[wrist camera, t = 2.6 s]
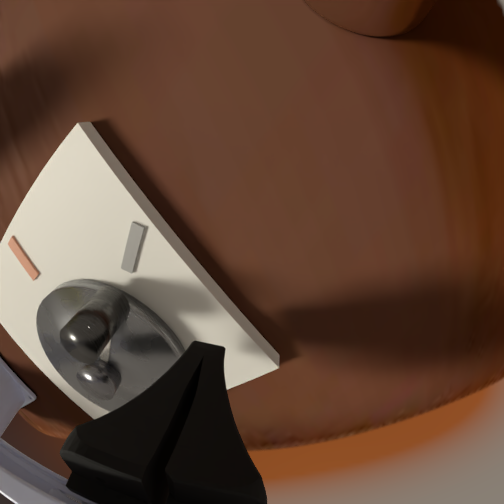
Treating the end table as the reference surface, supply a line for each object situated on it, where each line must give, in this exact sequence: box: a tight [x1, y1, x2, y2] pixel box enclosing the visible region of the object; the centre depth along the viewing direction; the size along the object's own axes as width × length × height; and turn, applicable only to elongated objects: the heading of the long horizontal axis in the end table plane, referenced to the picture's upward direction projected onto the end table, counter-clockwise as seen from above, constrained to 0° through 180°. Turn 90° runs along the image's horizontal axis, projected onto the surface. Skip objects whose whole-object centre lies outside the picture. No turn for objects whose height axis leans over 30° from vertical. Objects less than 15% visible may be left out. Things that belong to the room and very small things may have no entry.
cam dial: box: [36, 279, 185, 412], centre depth 13 cm, size 11×10×4 cm
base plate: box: [0, 122, 280, 419], centre depth 16 cm, size 17×15×1 cm
